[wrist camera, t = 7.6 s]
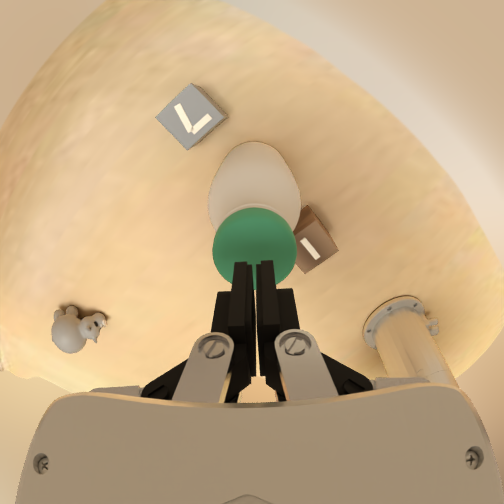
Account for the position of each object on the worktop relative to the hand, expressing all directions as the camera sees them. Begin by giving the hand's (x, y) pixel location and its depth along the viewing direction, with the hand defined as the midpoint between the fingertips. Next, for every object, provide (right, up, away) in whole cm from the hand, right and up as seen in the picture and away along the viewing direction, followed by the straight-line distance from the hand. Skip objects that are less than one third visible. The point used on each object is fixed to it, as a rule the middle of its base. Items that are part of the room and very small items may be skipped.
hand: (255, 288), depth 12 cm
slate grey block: (-6, +17, +16) cm, 25 cm away
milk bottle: (0, +11, +20) cm, 23 cm away
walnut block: (+7, +4, +24) cm, 25 cm away
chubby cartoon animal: (-32, -11, +32) cm, 47 cm away
